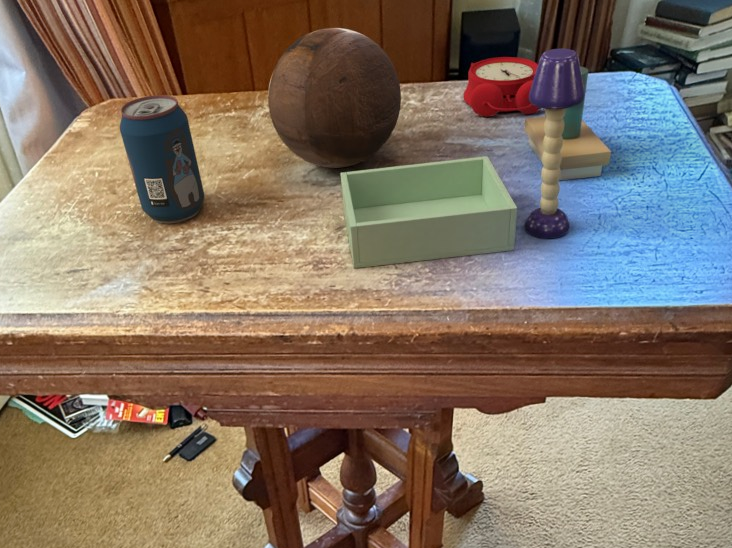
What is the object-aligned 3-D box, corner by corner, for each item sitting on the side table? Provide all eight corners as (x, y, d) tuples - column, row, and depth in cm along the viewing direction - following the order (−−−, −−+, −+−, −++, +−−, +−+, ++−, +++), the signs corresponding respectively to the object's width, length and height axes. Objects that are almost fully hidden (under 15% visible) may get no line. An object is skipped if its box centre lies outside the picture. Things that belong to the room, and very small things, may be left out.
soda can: (157, 196, 83) (130, 93, 76) (214, 196, 82) (192, 91, 74) (134, 226, 78) (103, 119, 70) (195, 227, 76) (169, 118, 69)
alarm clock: (535, 53, 99) (559, 63, 86) (533, 100, 102) (556, 117, 88) (459, 58, 100) (471, 69, 87) (459, 105, 103) (470, 122, 89)
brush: (523, 142, 86) (530, 57, 80) (572, 136, 86) (583, 51, 80) (551, 183, 77) (562, 91, 71) (607, 177, 77) (622, 85, 71)
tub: (485, 195, 76) (487, 155, 74) (514, 250, 68) (517, 207, 65) (343, 211, 76) (340, 172, 73) (353, 268, 67) (350, 226, 65)
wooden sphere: (421, 143, 88) (420, 14, 79) (370, 199, 78) (361, 58, 69) (315, 130, 94) (302, 8, 85) (254, 180, 84) (231, 48, 75)
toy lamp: (519, 239, 69) (534, 63, 59) (517, 215, 73) (530, 45, 62) (571, 238, 68) (596, 60, 58) (566, 214, 72) (588, 42, 62)
